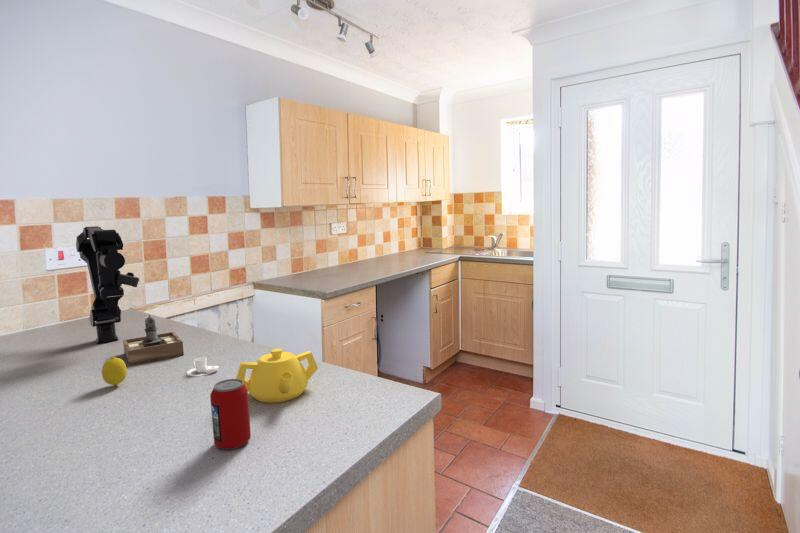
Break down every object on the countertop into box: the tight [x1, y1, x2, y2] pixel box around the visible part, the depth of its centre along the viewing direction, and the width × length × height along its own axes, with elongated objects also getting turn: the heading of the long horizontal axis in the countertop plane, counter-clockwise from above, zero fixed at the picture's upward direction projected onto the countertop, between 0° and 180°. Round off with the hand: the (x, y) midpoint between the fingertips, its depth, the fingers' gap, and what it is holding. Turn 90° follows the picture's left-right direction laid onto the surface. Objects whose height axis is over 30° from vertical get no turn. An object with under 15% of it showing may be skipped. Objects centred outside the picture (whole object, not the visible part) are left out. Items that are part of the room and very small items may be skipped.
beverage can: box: [209, 378, 252, 450], centre depth 87 cm, size 7×7×12 cm
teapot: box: [235, 348, 319, 404], centre depth 109 cm, size 20×18×11 cm
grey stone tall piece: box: [142, 314, 162, 347], centre depth 144 cm, size 6×6×12 cm
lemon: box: [101, 356, 128, 387], centre depth 118 cm, size 6×6×8 cm
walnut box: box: [122, 331, 184, 367], centre depth 145 cm, size 15×15×4 cm
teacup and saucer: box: [186, 356, 220, 377], centre depth 128 cm, size 9×8×4 cm
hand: (113, 313), depth 151 cm, fingers open, 9 cm apart
